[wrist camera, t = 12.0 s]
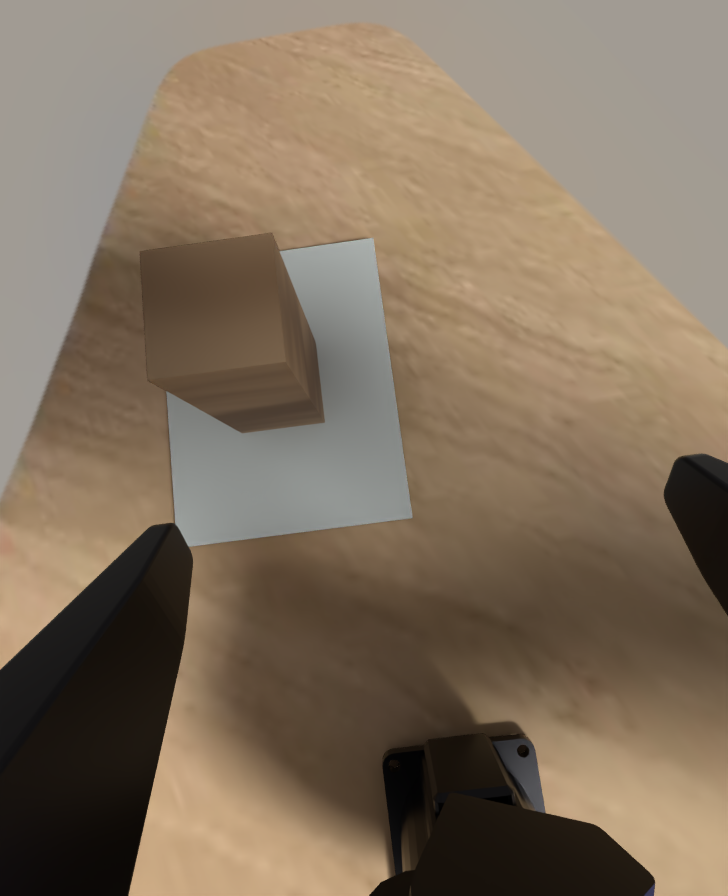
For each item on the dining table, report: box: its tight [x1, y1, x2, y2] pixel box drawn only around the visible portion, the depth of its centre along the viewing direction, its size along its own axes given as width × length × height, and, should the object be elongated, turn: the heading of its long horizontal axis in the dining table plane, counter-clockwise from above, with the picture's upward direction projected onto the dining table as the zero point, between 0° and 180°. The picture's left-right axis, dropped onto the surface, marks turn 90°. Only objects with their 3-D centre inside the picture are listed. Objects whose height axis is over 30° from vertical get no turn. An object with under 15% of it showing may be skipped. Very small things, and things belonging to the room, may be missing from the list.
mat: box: [166, 238, 413, 547], centre depth 23 cm, size 14×11×1 cm
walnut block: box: [140, 233, 325, 433], centre depth 18 cm, size 4×4×9 cm
